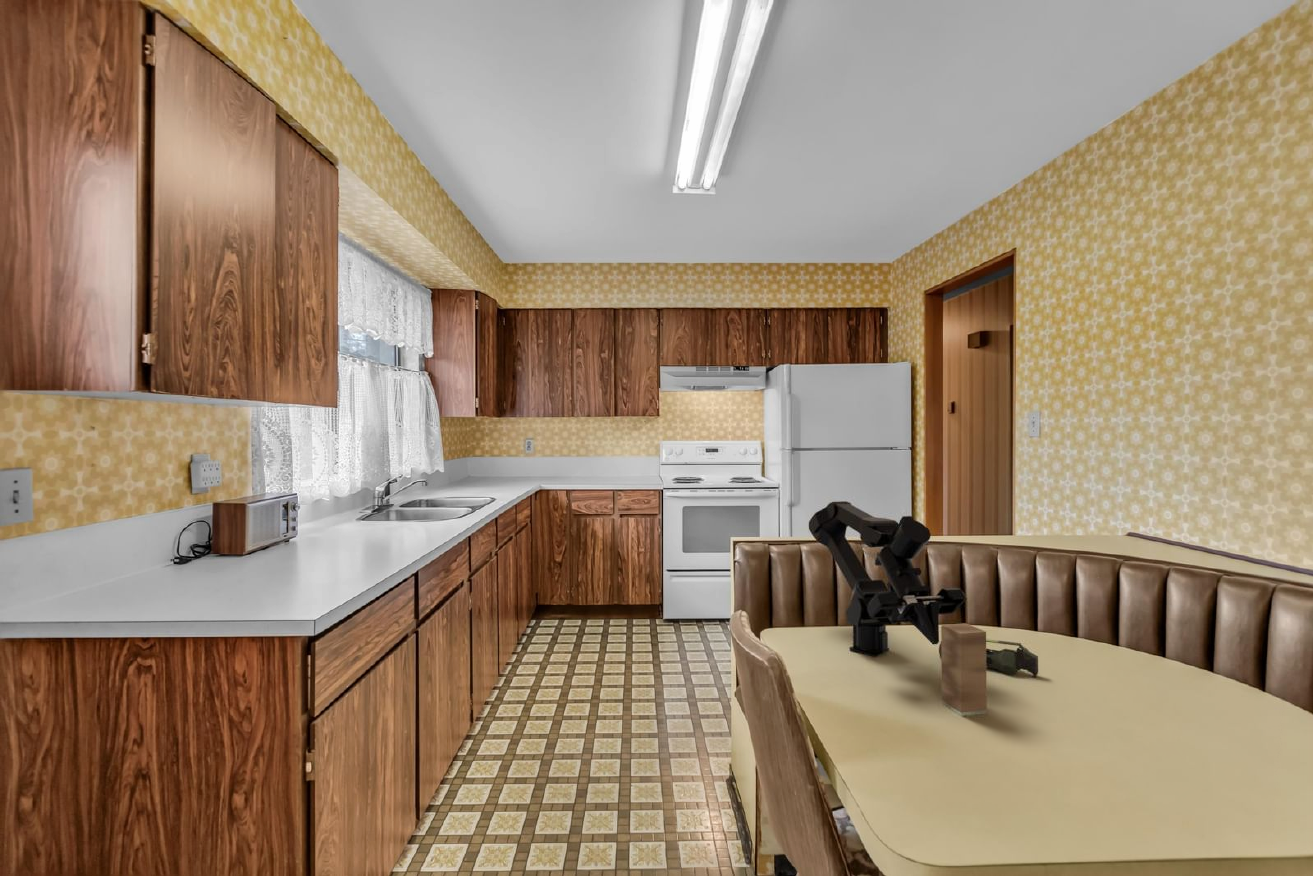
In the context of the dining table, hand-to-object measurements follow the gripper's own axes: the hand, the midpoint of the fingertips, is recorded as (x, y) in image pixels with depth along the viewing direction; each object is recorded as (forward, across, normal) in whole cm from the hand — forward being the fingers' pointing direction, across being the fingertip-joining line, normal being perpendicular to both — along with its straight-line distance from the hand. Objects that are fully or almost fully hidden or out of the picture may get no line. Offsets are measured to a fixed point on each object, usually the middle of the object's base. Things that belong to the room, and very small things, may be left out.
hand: (936, 643), depth 114 cm
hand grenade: (0, -18, -13) cm, 22 cm away
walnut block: (+12, 0, -1) cm, 12 cm away
